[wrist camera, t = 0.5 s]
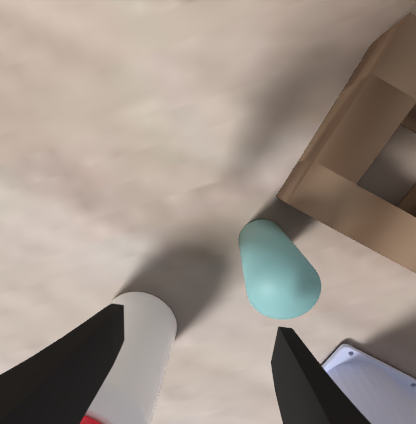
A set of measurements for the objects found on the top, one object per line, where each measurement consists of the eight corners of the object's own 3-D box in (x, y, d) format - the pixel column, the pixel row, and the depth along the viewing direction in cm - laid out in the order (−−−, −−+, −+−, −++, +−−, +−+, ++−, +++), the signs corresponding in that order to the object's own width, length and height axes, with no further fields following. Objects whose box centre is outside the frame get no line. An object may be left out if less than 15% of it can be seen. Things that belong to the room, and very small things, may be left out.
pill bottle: (182, 299, 20) (134, 454, 10) (172, 359, 22) (123, 542, 12) (107, 284, 20) (-21, 416, 10) (103, 344, 22) (-6, 510, 12)
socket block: (515, 128, 14) (588, 120, 12) (397, 262, 17) (432, 282, 15) (371, 43, 14) (410, 13, 11) (276, 196, 17) (286, 203, 14)
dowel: (293, 232, 18) (336, 277, 11) (268, 268, 19) (293, 330, 12) (253, 211, 17) (271, 243, 11) (230, 248, 18) (233, 299, 12)
